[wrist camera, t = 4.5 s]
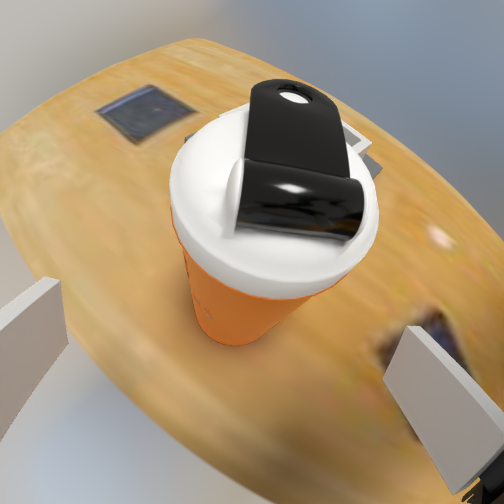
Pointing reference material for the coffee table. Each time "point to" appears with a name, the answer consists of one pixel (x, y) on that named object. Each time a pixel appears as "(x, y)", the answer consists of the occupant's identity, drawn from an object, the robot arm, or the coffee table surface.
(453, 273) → the coffee table surface
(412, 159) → the coffee table surface
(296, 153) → the shaker bottle
